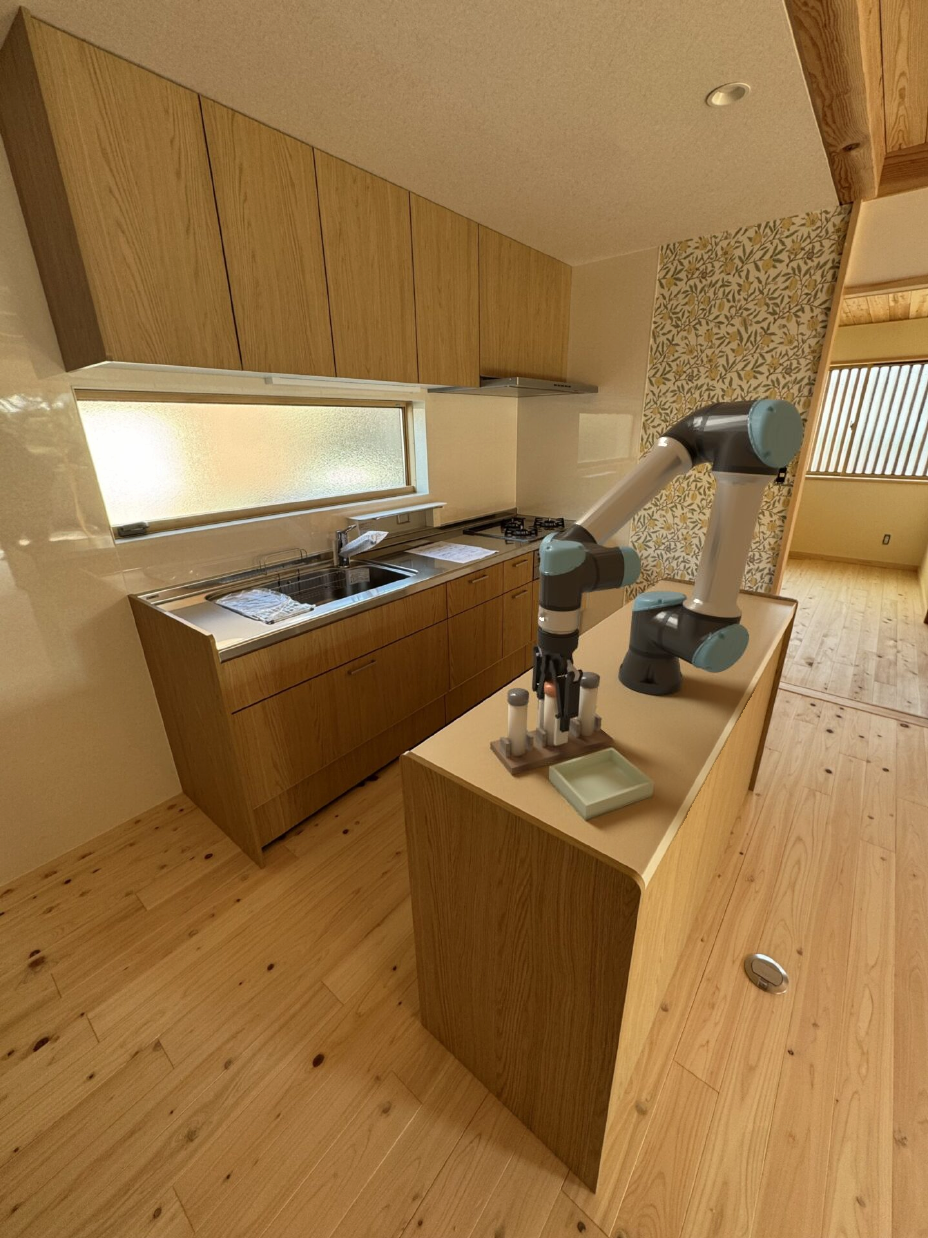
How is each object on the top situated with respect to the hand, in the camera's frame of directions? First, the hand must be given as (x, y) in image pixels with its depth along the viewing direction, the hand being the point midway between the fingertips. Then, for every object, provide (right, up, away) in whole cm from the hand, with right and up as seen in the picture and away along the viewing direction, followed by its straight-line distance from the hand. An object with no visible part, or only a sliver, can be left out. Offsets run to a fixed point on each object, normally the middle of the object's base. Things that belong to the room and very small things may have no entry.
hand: (552, 734), depth 99 cm
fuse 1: (-7, -2, -2) cm, 8 cm away
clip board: (0, -3, +1) cm, 3 cm away
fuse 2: (+7, 0, +3) cm, 8 cm away
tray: (+6, -7, -11) cm, 14 cm away
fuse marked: (0, -1, 0) cm, 1 cm away
